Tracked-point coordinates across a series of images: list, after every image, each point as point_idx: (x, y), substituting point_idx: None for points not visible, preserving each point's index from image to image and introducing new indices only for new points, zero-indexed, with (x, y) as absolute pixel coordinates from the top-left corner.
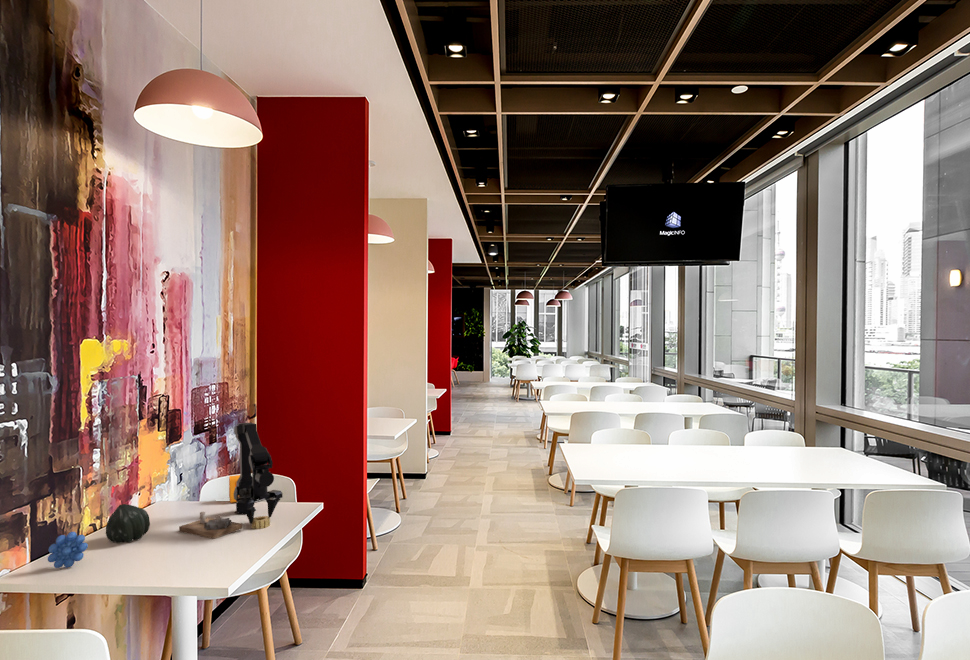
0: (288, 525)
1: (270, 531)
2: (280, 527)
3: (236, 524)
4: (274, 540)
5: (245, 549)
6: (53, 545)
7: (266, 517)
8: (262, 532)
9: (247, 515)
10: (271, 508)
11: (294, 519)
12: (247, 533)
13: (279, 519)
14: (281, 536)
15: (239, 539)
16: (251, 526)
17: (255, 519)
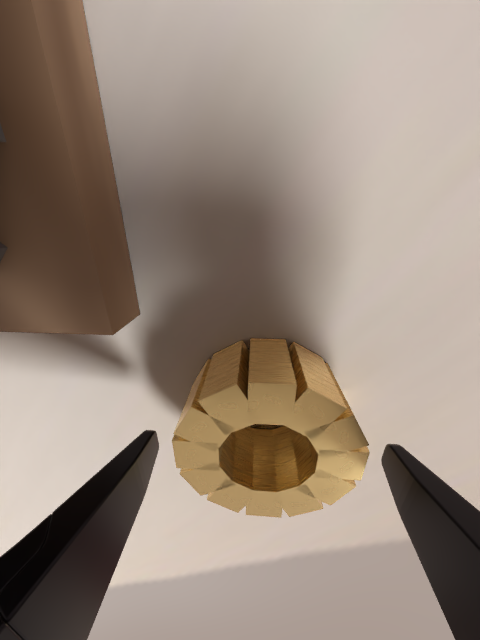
0: (339, 526)
1: (211, 508)
2: None
3: (56, 303)
4: (138, 572)
5: (4, 546)
6: None
7: (322, 480)
8: (175, 486)
9: (48, 531)
10: (458, 613)
11: (475, 497)
12: (108, 430)
13: (468, 413)
14: (187, 570)
15: (26, 459)
16: (204, 366)
17: (221, 437)
